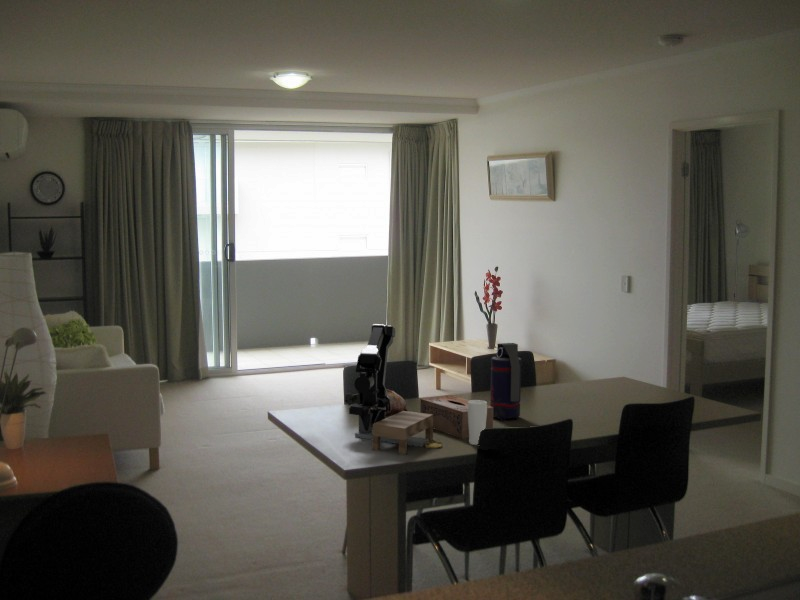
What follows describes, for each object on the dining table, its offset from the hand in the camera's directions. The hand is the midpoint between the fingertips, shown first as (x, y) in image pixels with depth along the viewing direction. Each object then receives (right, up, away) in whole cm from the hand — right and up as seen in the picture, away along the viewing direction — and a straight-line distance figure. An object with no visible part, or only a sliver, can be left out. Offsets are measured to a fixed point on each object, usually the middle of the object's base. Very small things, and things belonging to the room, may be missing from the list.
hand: (368, 429), depth 299 cm
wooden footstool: (+13, -4, -10) cm, 16 cm away
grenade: (+54, -1, +31) cm, 62 cm away
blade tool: (+8, -3, -4) cm, 10 cm away
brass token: (+23, -4, -11) cm, 26 cm away
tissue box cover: (+32, -2, +14) cm, 35 cm away
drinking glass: (+38, -4, -8) cm, 39 cm away
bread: (+5, +1, +42) cm, 42 cm away
